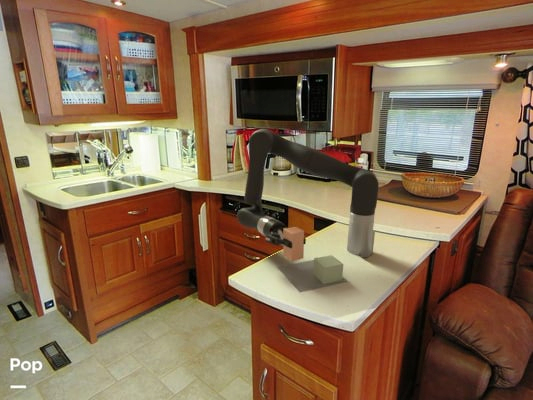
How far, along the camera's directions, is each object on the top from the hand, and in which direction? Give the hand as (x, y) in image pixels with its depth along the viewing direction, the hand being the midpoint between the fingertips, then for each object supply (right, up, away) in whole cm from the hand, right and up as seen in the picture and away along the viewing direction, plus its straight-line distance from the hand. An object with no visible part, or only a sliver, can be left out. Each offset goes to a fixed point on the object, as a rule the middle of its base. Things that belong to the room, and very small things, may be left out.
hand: (298, 243), depth 115 cm
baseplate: (+5, -12, +3) cm, 13 cm away
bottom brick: (+10, -11, +1) cm, 15 cm away
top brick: (-1, -5, +4) cm, 7 cm away
